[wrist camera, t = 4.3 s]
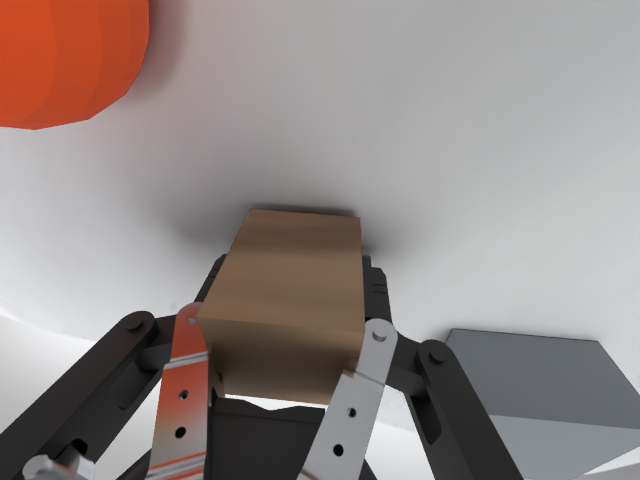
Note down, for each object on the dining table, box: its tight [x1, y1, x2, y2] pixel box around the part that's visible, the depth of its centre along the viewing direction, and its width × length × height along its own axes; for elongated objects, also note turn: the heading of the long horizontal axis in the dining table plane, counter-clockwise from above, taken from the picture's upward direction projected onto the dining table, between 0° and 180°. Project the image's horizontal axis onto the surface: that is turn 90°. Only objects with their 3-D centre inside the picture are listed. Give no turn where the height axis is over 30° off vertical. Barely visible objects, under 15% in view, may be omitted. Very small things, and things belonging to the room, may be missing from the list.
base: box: [445, 329, 640, 480], centre depth 19 cm, size 9×9×5 cm
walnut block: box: [196, 209, 365, 405], centre depth 12 cm, size 5×5×6 cm
